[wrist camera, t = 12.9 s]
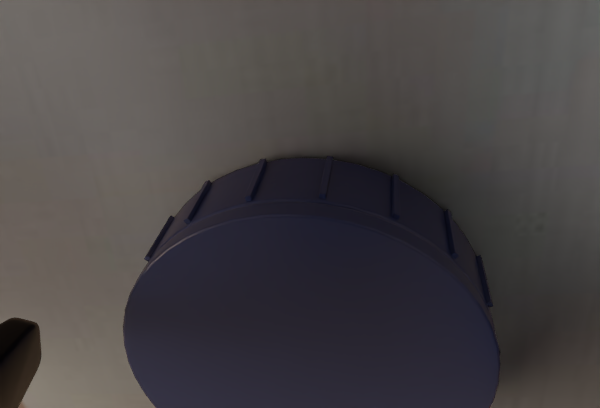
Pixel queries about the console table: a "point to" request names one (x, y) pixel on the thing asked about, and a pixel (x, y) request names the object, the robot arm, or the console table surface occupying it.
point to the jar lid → (312, 297)
